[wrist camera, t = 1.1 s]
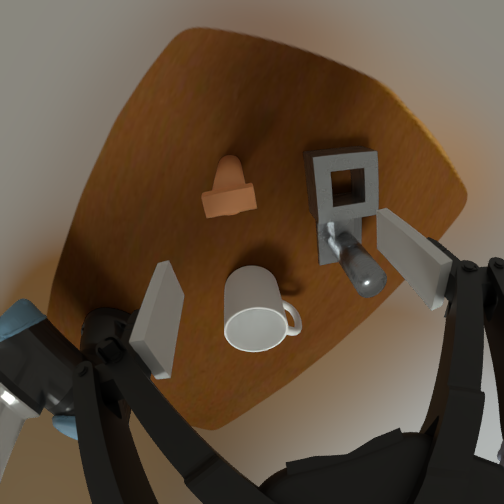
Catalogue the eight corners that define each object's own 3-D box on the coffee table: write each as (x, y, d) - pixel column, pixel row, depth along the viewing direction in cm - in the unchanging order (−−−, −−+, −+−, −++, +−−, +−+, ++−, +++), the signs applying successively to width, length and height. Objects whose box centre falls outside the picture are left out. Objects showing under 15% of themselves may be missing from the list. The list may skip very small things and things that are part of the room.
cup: (236, 256, 40) (238, 299, 32) (305, 280, 43) (323, 323, 35) (217, 297, 44) (215, 344, 35) (282, 316, 47) (293, 361, 38)
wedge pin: (216, 180, 35) (208, 225, 21) (212, 158, 33) (199, 189, 20) (247, 174, 35) (258, 215, 21) (243, 152, 33) (251, 179, 20)
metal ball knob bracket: (313, 263, 42) (338, 314, 32) (302, 151, 34) (335, 170, 23) (363, 253, 42) (398, 298, 31) (361, 145, 34) (410, 163, 23)
